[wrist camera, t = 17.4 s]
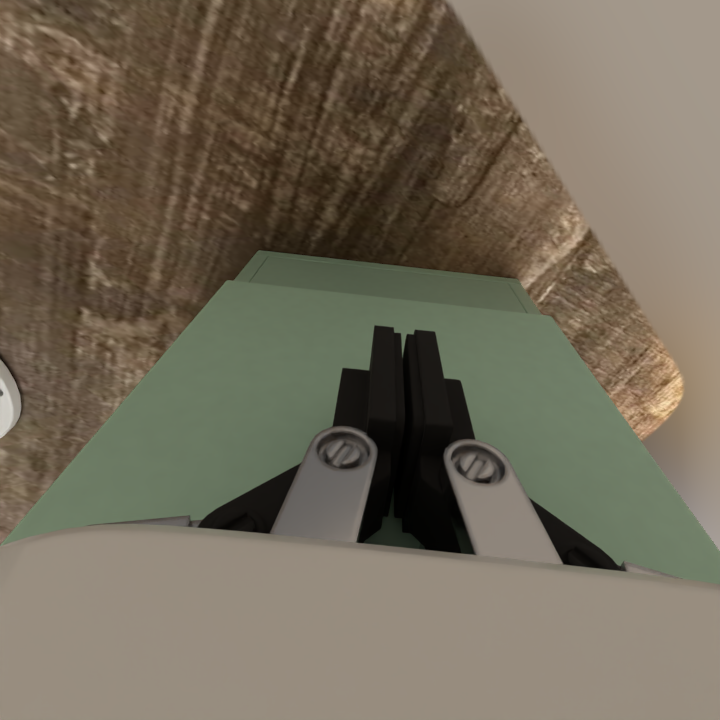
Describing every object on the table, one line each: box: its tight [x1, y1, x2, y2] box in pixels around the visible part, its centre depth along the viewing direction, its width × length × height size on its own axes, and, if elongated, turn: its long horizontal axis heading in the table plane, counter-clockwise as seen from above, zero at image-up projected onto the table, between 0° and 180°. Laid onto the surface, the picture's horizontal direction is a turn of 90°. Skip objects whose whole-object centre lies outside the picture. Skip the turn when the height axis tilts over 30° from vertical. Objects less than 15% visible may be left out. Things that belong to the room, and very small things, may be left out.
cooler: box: [233, 250, 542, 315], centre depth 28 cm, size 17×16×5 cm
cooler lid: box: [0, 280, 720, 584], centre depth 13 cm, size 18×16×1 cm
